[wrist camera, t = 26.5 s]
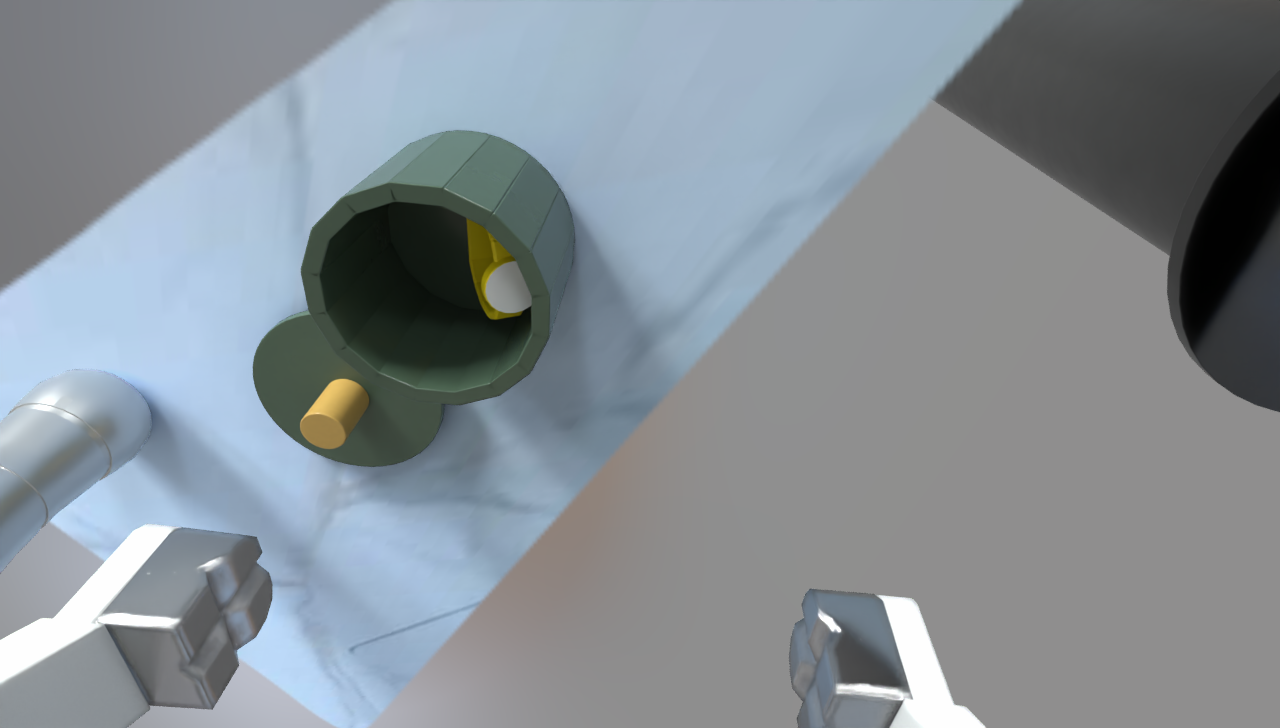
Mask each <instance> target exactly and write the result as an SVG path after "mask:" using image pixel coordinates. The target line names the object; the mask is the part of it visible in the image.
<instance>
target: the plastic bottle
mask: <svg viewBox="0 0 1280 728" xmlns="http://www.w3.org/2000/svg"><path fill="white" fill-rule="evenodd" d="M151 419H152V416H151V411H150V408H149V406H148V404H147V402H146V401H145V399H144V398H143V396H142V395H141V394H140V393H139V392H138V391H137V390H136V389H135V388H134V387H133V386H132V385H131V384H129V383H128V382H126V381H125V380H123V379H121V378H119V377H118V376H116V375H113V374H111V373H108V372H105V371H101V370H94V369H74V370H67V371H65V372H62V373H60V374H57V375H55V376H53V377H51V378H49V379H47V380H44V381H42V382H40V383H39V384H37V385H36V386H35V387H34V388H33V389H31V390H30V391H29V392H28V393H27V394H26V395H25V396H24V397H23V398H22V399H21V400H20V401H19V402H18V403H17V404H16V405H15V406H14V407H13V409H12V410H11V411H10V413H9V414H8V415H7V416H6V417H5V418H4V419H3V420H1V421H0V573H1V572H2V571H3V570H4V569H5V567H6V566H7V565H8V564H9V563H10V561H11V560H12V559H13V558H14V557H15V555H16V554H17V553H18V552H19V551H20V550H21V549H22V548H23V547H24V546H25V545H26V544H27V543H28V542H29V541H30V540H31V539H32V538H33V537H34V536H35V535H36V534H37V533H38V531H39V530H40V529H41V528H42V527H44V526H45V525H46V524H47V523H48V522H49V521H50V520H51V519H52V518H53V517H54V516H55V515H56V514H57V513H58V512H59V511H61V510H62V509H63V508H64V507H66V506H67V505H68V504H70V503H71V502H72V501H73V500H75V499H76V498H77V497H78V496H80V495H81V494H82V493H84V492H85V491H86V490H87V489H89V488H90V487H91V486H93V485H94V484H95V483H96V482H98V481H99V480H101V479H103V478H105V477H107V476H108V475H110V474H112V473H113V472H115V471H116V470H118V469H119V468H121V467H122V466H123V465H125V464H126V463H127V462H129V461H130V460H132V459H133V458H134V457H135V456H136V455H137V453H138V452H139V451H140V449H141V448H142V446H143V445H144V444H145V442H146V441H147V439H148V438H149V436H150V433H151Z"/></svg>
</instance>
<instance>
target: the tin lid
mask: <svg viewBox="0 0 1280 728" xmlns="http://www.w3.org/2000/svg"><path fill="white" fill-rule="evenodd" d="M253 379H254V384H255V388H256V391H257V394H258V396H259V398H260V400H261V402H262V404H263V406H264V408H265V409H266V411H267V412H268V414H269V415H270V417H271V418H272V419H273V420H274V421H275V423H276V424H277V425H278V426H279V427H280V428H281V429H282V430H283V431H284V432H285V433H286V434H288V435H289V436H290V437H291V438H293V439H294V440H295V441H297V442H298V443H300V444H301V445H303V446H304V447H306V448H308V449H309V450H311V451H313V452H315V453H317V454H319V455H321V456H324V457H326V458H329V459H332V460H335V461H338V462H342V463H346V464H350V465H357V466H368V467H376V466H387V465H393V464H397V463H400V462H404V461H406V460H408V459H410V458H413V457H414V456H416V455H417V454H419V453H421V452H422V451H423V450H424V449H425V448H426V447H427V446H428V445H429V444H430V443H431V442H432V440H433V439H434V437H435V436H436V434H437V432H438V430H439V428H440V425H441V422H442V420H443V415H444V404H439V403H429V402H419V401H415V400H411V399H409V398H406V397H404V396H401V395H399V394H397V393H394V392H392V391H389V390H387V389H385V388H382V387H380V386H377V385H375V384H373V383H371V382H369V381H368V380H367V379H366V378H364V377H363V376H362V375H361V374H360V373H358V372H357V371H356V370H355V369H353V368H352V367H351V366H350V365H349V364H347V363H346V362H345V361H344V360H342V359H341V358H340V357H339V356H338V355H336V354H335V352H334V351H333V349H332V348H331V346H330V345H329V343H328V342H327V340H326V339H325V337H324V336H323V334H322V332H321V331H320V329H319V328H318V326H317V325H316V323H315V322H314V320H313V318H312V317H311V315H310V314H309V311H304V312H300V313H297V314H294V315H292V316H289V317H288V318H286V319H284V320H282V321H280V322H279V323H278V324H277V325H276V326H274V327H273V328H272V329H271V330H270V331H269V332H268V333H267V334H266V335H265V337H264V338H263V339H262V340H261V342H260V344H259V346H258V347H257V350H256V353H255V356H254V362H253Z"/></svg>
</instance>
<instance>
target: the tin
mask: <svg viewBox="0 0 1280 728" xmlns="http://www.w3.org/2000/svg"><path fill="white" fill-rule="evenodd" d="M466 218H467V219H469V220H471V221H473V222H475V223H477V224H479V225H481V226H483V227H484V228H485V229H486V230H487V231H488V232H489V233H490V234H491V235H492V236H493V237H494V238H495V239H496V240H497V241H498V242H499V243H500V244H501V245H502V246H503V247H504V248H505V249H506V250H507V251H508V252H509V253H510V254H511V255H512V256H513V257H514V258H515V260H516V262H517V265H518V267H519V269H520V271H521V274H522V276H523V278H524V280H525V283H526V285H527V287H528V289H529V292H530V294H531V306H530V307H528V308H527V309H525V310H523V312H522V314H521V315H520V316H514V317H508V318H502V319H490V318H489V317H488V316H487V315H486V313H485V311H484V310H483V308H482V306H481V304H480V301H479V298H478V295H477V292H476V289H475V284H474V282H473V278H472V273H471V268H470V264H469V251H468V235H467V219H466ZM574 243H575V239H574V225H573V220H572V216H571V212H570V209H569V206H568V204H567V201H566V199H565V197H564V195H563V193H562V191H561V189H560V188H559V186H558V184H557V183H556V181H555V180H554V179H553V177H552V176H551V175H550V174H549V172H548V171H547V170H546V169H545V168H544V167H543V166H542V165H541V164H540V163H539V162H538V161H537V160H536V159H534V158H533V157H532V156H531V155H529V154H528V153H527V152H525V151H524V150H522V149H521V148H519V147H517V146H516V145H514V144H512V143H510V142H508V141H505V140H503V139H501V138H499V137H495V136H492V135H489V134H485V133H480V132H474V131H446V132H442V133H438V134H434V135H430V136H428V137H425V138H423V139H421V140H419V141H416V142H413V143H410V144H408V145H407V146H406V147H405V148H403V149H402V150H401V151H400V152H398V153H397V154H396V155H395V156H393V157H392V158H391V159H389V160H388V161H387V162H386V163H384V164H383V165H382V166H381V167H379V168H378V169H377V170H375V171H374V172H373V173H372V174H370V175H369V176H368V177H367V178H365V179H364V180H363V181H362V182H360V183H359V184H358V185H356V186H355V187H354V188H353V189H351V190H350V191H349V192H348V193H346V194H345V195H344V196H343V197H341V198H340V199H339V200H338V201H337V202H336V203H335V205H334V206H333V207H332V208H331V209H330V210H329V211H328V212H327V213H326V214H325V215H324V216H323V217H322V218H321V219H320V220H319V221H318V222H317V223H316V224H315V225H314V226H313V227H312V229H311V232H310V236H309V240H308V243H307V247H306V251H305V255H304V259H303V263H302V266H301V276H302V280H303V285H304V290H305V295H306V300H307V305H308V310H309V314H310V315H311V317H312V318H313V320H314V322H315V323H316V325H317V326H318V328H319V329H320V331H321V332H322V334H323V336H324V337H325V339H326V340H327V342H328V343H329V345H330V346H331V348H332V349H333V351H334V352H335V354H336V355H338V356H339V357H340V358H341V359H342V360H344V361H345V362H346V363H347V364H349V365H350V366H351V367H352V368H353V369H355V370H356V371H357V372H358V373H360V374H361V375H362V376H363V377H364V378H366V379H367V380H368V381H369V382H371V383H373V384H375V385H377V386H380V387H382V388H385V389H387V390H389V391H392V392H394V393H397V394H399V395H401V396H404V397H406V398H409V399H411V400H415V401H419V402H429V403H439V404H449V405H463V404H467V403H472V402H476V401H480V400H484V399H488V398H492V397H497V396H500V395H501V394H503V393H504V392H505V391H507V390H508V389H509V388H511V387H512V386H514V385H515V384H516V383H518V382H519V381H520V380H522V379H523V378H524V377H526V376H527V375H529V374H530V373H531V371H532V370H533V368H534V366H535V364H536V362H537V360H538V359H539V357H540V355H541V353H542V351H543V349H544V347H545V345H546V343H547V341H548V339H549V337H550V334H551V330H552V327H553V324H554V321H555V318H556V315H557V312H558V308H559V305H560V302H561V299H562V296H563V293H564V289H565V286H566V283H567V280H568V277H569V274H570V270H571V267H572V264H573V252H574Z"/></svg>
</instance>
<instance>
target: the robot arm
mask: <svg viewBox="0 0 1280 728" xmlns="http://www.w3.org/2000/svg"><path fill="white" fill-rule="evenodd" d="M261 554H262V550H261V547H260V545H259V542H258V539H257V537H254V536H248V535H240V534H232V533H224V532H216V531H207V530H199V529H191V528H183V527H173V526H164V525H155V524H146V525H144V526H142V527H140V528H138V529H136V530H134V531H133V532H132V533H131V534H130V535H129V536H128V537H127V538H126V540H125V541H124V542H123V543H122V544H121V545H120V546H119V547H118V548H117V549H116V550H115V552H114V553H113V554H112V555H111V556H110V557H109V558H108V559H107V560H106V561H105V563H104V564H103V565H102V566H101V567H100V568H99V569H98V570H97V571H96V572H95V573H94V575H93V576H92V577H91V578H90V579H89V580H88V581H87V582H86V583H85V584H84V586H83V587H82V588H81V589H80V590H79V591H78V592H77V593H76V594H75V595H74V596H73V598H72V599H71V600H70V601H69V602H68V603H67V604H66V605H65V606H64V607H63V608H62V610H61V611H60V612H59V613H58V614H57V615H56V616H55V617H54V618H53V619H49V618H41V619H39V620H37V621H35V622H33V623H32V624H30V625H28V626H26V627H24V628H22V629H20V630H18V631H16V632H15V633H13V634H11V635H9V636H7V637H5V638H3V639H2V640H0V728H127V727H129V725H131V724H132V723H134V722H135V721H136V720H137V719H139V718H140V717H141V716H142V715H144V714H145V713H146V712H147V711H149V710H150V706H149V705H152V706H167V707H182V708H198V709H213V708H214V706H215V704H216V703H217V701H218V699H219V698H220V696H221V695H222V693H223V691H224V690H225V688H226V686H227V685H228V683H229V681H230V680H231V678H232V676H233V675H234V673H235V671H236V670H237V668H238V666H239V662H238V655H237V650H238V649H239V648H241V647H242V646H244V645H245V644H247V643H248V642H250V641H251V640H252V639H254V638H255V637H256V636H257V634H258V633H259V631H260V629H261V627H262V626H263V624H264V622H265V620H266V618H267V615H268V611H269V608H270V605H271V601H272V581H271V578H270V575H269V572H267V571H266V570H265V569H264V568H263V567H261V566H260V565H259V564H258V563H257V562H256V561H257V560H258V558H259V557H260V555H261ZM802 609H803V615H804V618H803V619H802V620H800V621H798V622H797V623H795V626H794V629H793V632H792V636H791V642H790V652H789V662H790V663H789V664H790V676H791V683H792V689H793V690H794V691H795V692H796V694H797V695H798V696H799V697H800V698H801V700H802V701H803V703H802V706H801V709H800V711H799V714H798V717H797V723H798V728H986V727H985V726H984V725H983V724H982V723H981V722H980V721H979V720H978V719H977V718H976V717H975V716H974V715H973V714H972V713H971V712H970V711H969V710H968V709H967V708H966V707H965V706H958V705H954V702H953V699H952V697H951V694H950V691H949V688H948V686H947V683H946V680H945V678H944V675H943V672H942V669H941V666H940V664H939V661H938V658H937V656H936V653H935V650H934V648H933V645H932V642H931V639H930V637H929V634H928V631H927V628H926V626H925V623H924V620H923V617H922V615H921V612H920V609H919V607H918V605H917V603H916V602H915V601H914V600H913V599H912V598H903V597H892V596H882V595H875V594H868V593H856V592H844V591H832V590H818V589H809V591H807V593H806V594H805V596H804V599H803V602H802Z"/></svg>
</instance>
